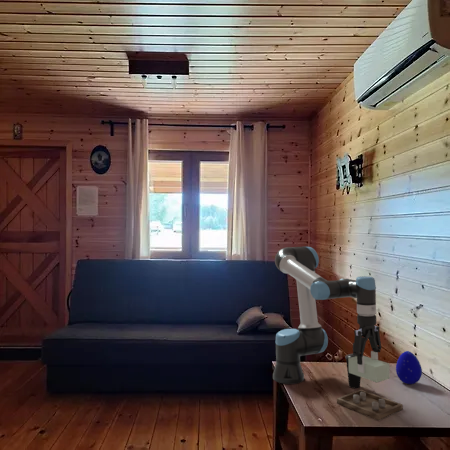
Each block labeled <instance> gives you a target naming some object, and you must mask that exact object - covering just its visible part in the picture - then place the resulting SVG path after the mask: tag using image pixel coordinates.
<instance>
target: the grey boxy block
mask: <svg viewBox="0 0 450 450" xmlns="http://www.w3.org/2000/svg"><path fill="white" fill-rule="evenodd" d="M363 356H364V360H365V373H361V372H358V363H357V356H356V357H351V358H348V362H349V373H351V374H354V375H357V376H360V377H361V379H362V378H363V379H366V380H369V381H371V382H374V383H380V382H383V381H387V380H390V379H391V376H390V375H391V373H390V369H391V368H390V367H391V366H390V363H389V362H386V361H382V360H379V359H378V360H376V359H373V358H371V357H369V356H366V355H363Z"/></svg>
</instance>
